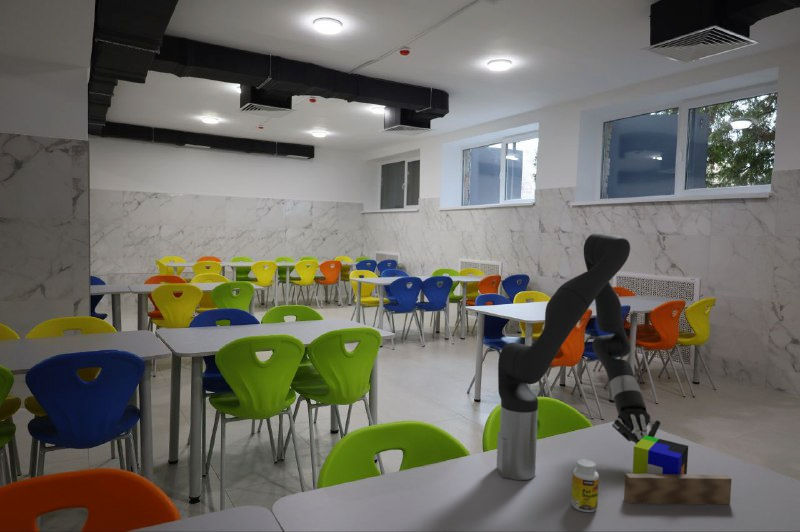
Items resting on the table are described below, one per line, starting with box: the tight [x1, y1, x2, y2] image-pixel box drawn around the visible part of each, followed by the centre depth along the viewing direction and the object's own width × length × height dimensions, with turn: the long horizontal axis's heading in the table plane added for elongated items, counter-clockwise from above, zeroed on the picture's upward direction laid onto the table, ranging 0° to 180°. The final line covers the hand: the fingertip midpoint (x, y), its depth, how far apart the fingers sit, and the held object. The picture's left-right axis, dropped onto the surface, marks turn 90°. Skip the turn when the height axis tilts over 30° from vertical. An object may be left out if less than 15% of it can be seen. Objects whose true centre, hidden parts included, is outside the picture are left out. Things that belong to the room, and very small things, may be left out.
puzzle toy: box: [632, 435, 689, 474], centre depth 129 cm, size 10×10×10 cm
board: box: [623, 473, 732, 505], centre depth 121 cm, size 24×2×6 cm, turn 92°
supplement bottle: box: [570, 458, 600, 513], centre depth 118 cm, size 6×6×10 cm
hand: (646, 455), depth 136 cm, fingers closed
